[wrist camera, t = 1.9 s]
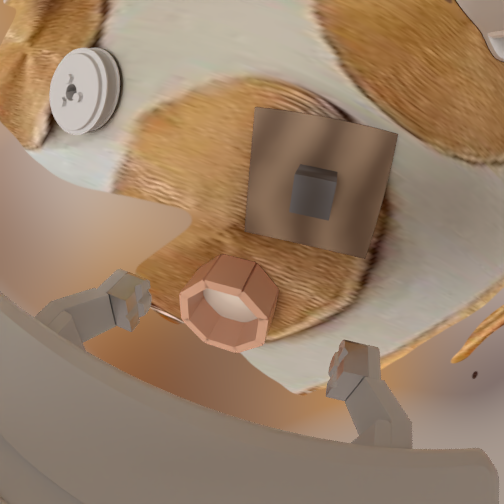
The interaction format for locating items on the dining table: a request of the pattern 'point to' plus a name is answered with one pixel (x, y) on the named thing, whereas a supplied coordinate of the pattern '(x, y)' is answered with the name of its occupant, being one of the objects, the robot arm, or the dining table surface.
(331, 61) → the dining table surface
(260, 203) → the cover
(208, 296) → the ring
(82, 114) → the lid
